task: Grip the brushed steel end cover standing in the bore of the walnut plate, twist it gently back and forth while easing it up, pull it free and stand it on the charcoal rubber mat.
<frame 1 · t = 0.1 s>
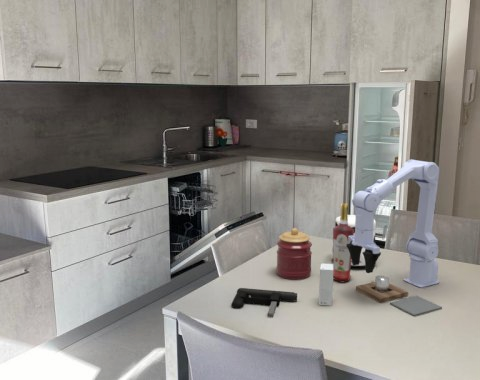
hand: (362, 268, 158), 10 cm above the table, tool pointing down, fingers open, 7 cm apart
canister: (293, 274, 181), on the table
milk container: (353, 263, 193), on the table
end cover: (381, 285, 162), in the bore plate
rubber mat: (415, 306, 153), on the table
liquor: (341, 280, 175), on the table
skincare box: (325, 302, 156), on the table
bore plate: (381, 293, 163), on the table
door handle: (263, 307, 154), on the table
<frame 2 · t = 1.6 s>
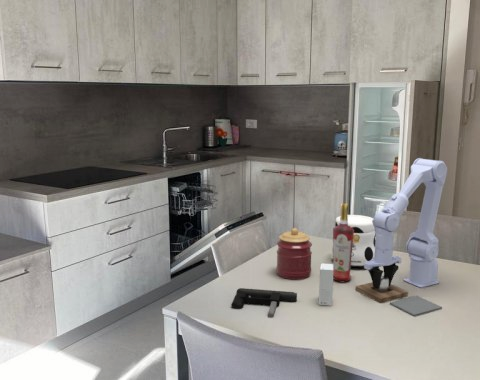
hand: (381, 286, 163), 2 cm above the table, tool pointing down, fingers closed on end cover, 4 cm apart
end cover: (381, 285, 162), in the bore plate, touching gripper
everything else where it was.
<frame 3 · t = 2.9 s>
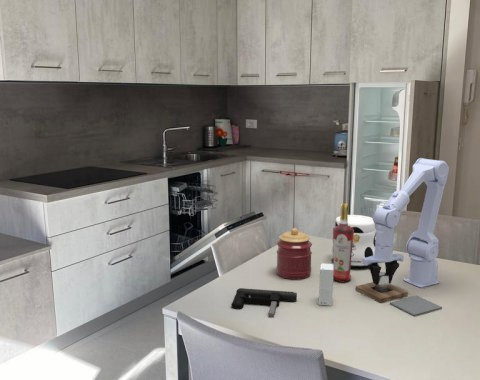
hand: (381, 283, 162), 4 cm above the table, tool pointing down, fingers closed on end cover, 4 cm apart
end cover: (381, 282, 162), point 4 cm above the table, touching gripper
everything else where it was.
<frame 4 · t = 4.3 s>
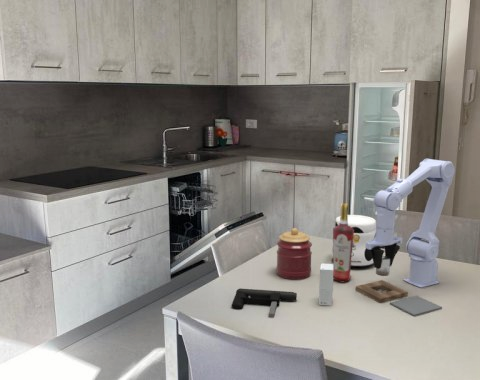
hand: (382, 266, 161), 9 cm above the table, tool pointing down, fingers closed on end cover, 4 cm apart
end cover: (382, 265, 161), point 10 cm above the table, touching gripper
everything else where it was.
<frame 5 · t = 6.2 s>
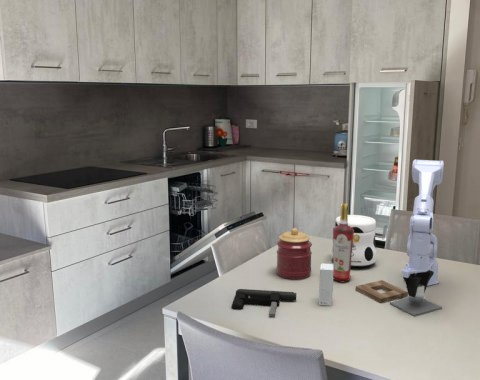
hand: (416, 294, 152), 4 cm above the table, tool pointing down, fingers closed on end cover, 4 cm apart
end cover: (416, 293, 152), point 4 cm above the table, touching gripper
everything else where it was.
when the fingers open (4 cm above the table, at t = 6.6 s): end cover drops 1 cm, resting on rubber mat.
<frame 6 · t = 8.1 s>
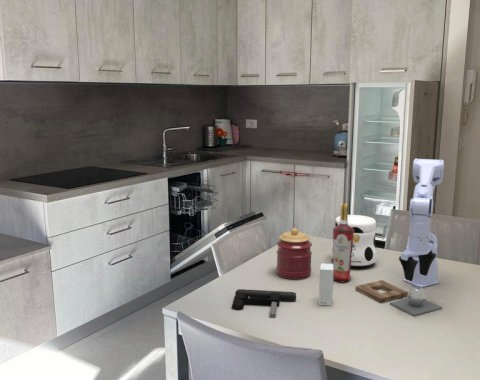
hand: (416, 277, 152), 9 cm above the table, tool pointing down, fingers open, 7 cm apart
end cover: (416, 296, 152), on the rubber mat, point 3 cm above the table
everything else where it was.
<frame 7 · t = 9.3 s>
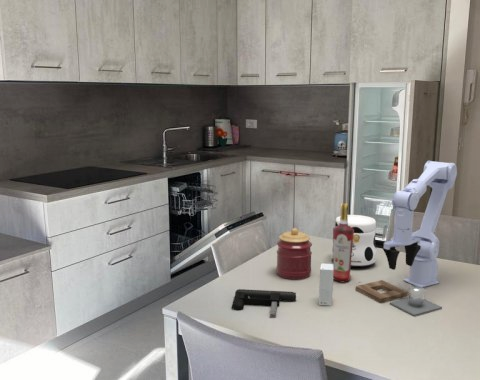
hand: (400, 267, 161), 9 cm above the table, tool pointing down, fingers open, 7 cm apart
nothing on the table moved.
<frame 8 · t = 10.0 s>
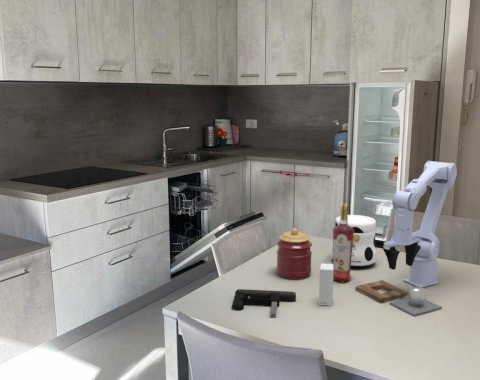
hand: (400, 267, 161), 9 cm above the table, tool pointing down, fingers open, 7 cm apart
nothing on the table moved.
at the end: end cover inside the target area on the rubber mat (0.1 cm from its centre), point 3.4 cm above the rubber mat's base; end cover tilted 0°; the gripper is holding nothing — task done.
